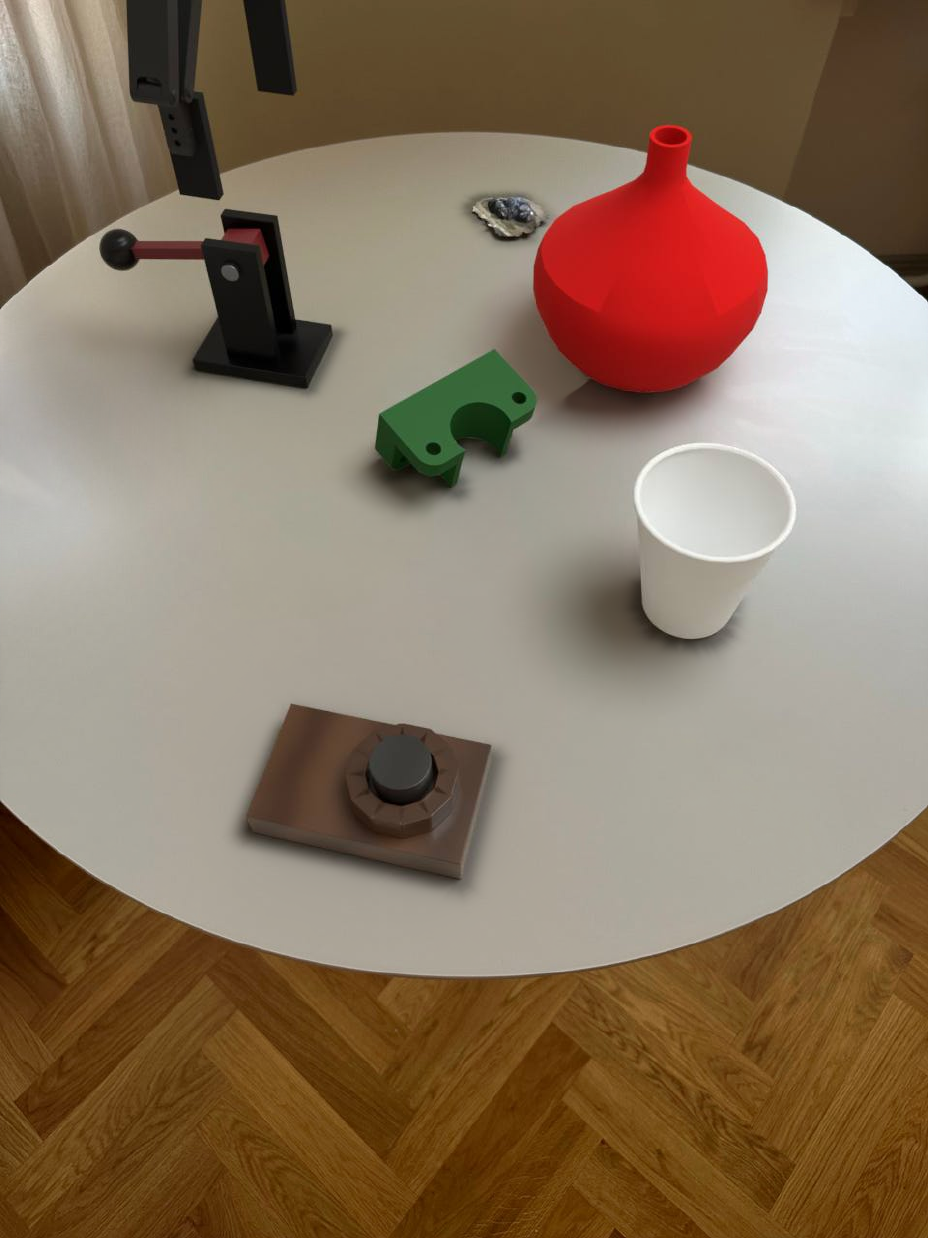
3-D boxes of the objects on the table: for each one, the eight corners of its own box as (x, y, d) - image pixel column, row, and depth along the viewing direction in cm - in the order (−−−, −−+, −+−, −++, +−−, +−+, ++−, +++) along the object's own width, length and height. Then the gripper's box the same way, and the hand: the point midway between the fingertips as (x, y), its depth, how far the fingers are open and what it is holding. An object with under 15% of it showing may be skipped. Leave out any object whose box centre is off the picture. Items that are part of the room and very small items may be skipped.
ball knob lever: (102, 278, 84) (85, 243, 82) (119, 255, 86) (103, 220, 84) (259, 280, 81) (246, 243, 78) (273, 256, 83) (261, 220, 80)
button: (363, 796, 60) (361, 782, 59) (381, 743, 62) (379, 728, 61) (423, 809, 60) (422, 795, 58) (439, 755, 62) (438, 740, 60)
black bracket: (194, 370, 88) (160, 247, 78) (225, 319, 92) (195, 196, 82) (307, 388, 86) (286, 265, 77) (333, 335, 90) (316, 212, 81)
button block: (252, 832, 63) (240, 802, 59) (295, 720, 67) (286, 687, 64) (461, 879, 61) (460, 852, 58) (491, 761, 65) (492, 729, 62)
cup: (785, 603, 72) (828, 495, 64) (701, 691, 68) (735, 589, 59) (671, 530, 76) (696, 419, 68) (585, 608, 72) (600, 501, 63)
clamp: (435, 522, 83) (410, 487, 74) (390, 469, 84) (360, 429, 76) (550, 424, 83) (539, 378, 74) (502, 373, 84) (486, 322, 76)
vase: (758, 431, 82) (822, 213, 67) (527, 425, 83) (538, 208, 68) (735, 288, 93) (785, 72, 78) (531, 284, 94) (541, 69, 79)
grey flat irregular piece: (518, 249, 97) (519, 231, 96) (452, 219, 100) (452, 201, 99) (561, 216, 100) (562, 198, 99) (495, 188, 103) (495, 170, 102)
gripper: (129, -171, 45) (222, 254, 63) (319, -319, 60) (352, 59, 77) (-24, -185, 47) (108, 236, 64) (198, -327, 61) (257, 47, 78)
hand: (241, 140), depth 70 cm, fingers open, 13 cm apart
